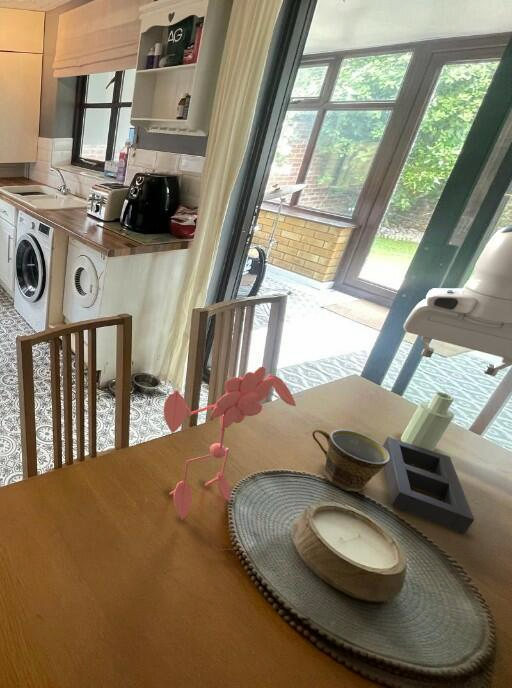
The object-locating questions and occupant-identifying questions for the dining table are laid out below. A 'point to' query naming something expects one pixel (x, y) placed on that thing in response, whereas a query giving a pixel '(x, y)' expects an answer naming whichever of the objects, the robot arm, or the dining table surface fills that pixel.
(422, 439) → the bottle
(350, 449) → the ceramic cup
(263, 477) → the dining table surface
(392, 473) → the holder
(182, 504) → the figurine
